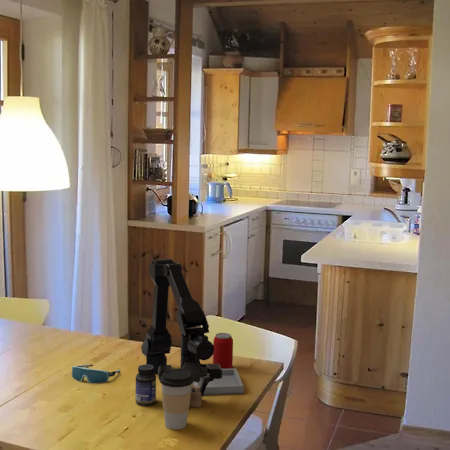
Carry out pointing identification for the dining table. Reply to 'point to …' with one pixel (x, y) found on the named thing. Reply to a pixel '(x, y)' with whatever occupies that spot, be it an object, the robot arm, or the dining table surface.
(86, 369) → the sunglasses
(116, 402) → the dining table surface
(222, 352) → the beverage can
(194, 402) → the wooden frame block
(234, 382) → the tray
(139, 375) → the pill bottle
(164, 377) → the coffee cup
